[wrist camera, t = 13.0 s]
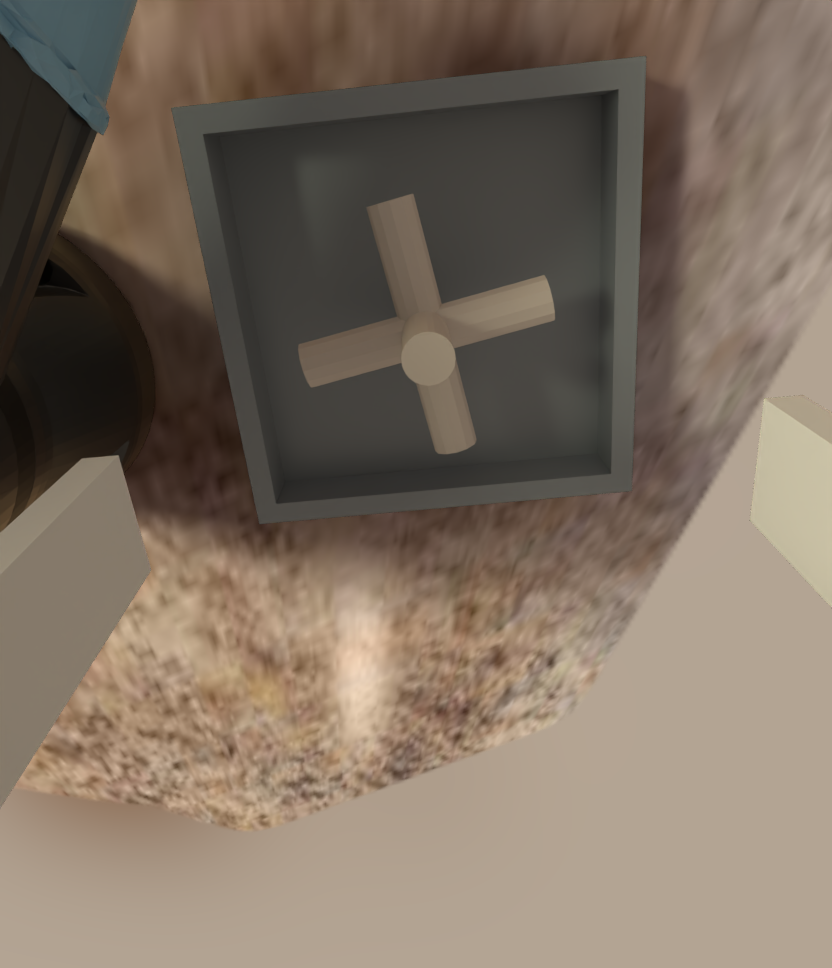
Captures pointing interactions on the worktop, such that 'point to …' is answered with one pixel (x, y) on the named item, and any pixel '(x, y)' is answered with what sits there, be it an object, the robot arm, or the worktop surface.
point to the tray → (458, 273)
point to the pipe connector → (425, 326)
